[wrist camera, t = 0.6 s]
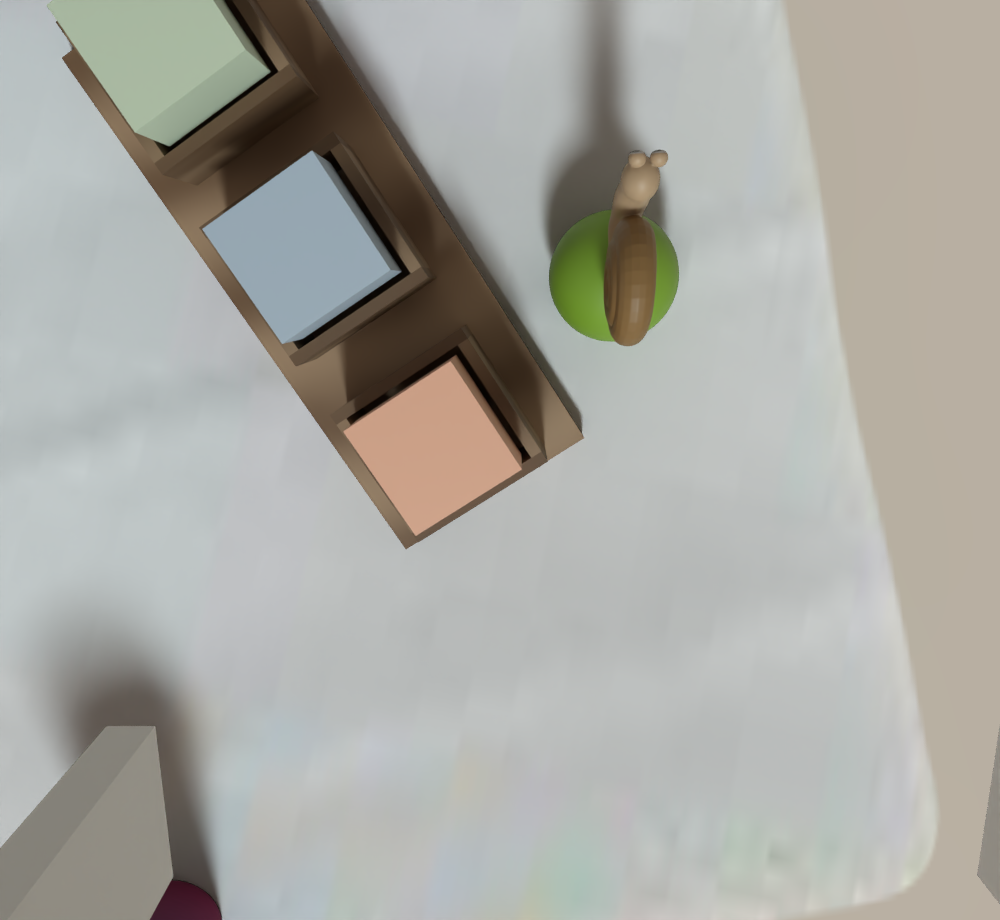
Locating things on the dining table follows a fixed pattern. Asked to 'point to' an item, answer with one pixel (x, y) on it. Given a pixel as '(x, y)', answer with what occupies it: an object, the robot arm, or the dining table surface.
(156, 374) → the dining table surface
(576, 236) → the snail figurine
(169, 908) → the cup
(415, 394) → the terracotta key
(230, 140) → the wooden socket tray
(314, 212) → the slate key
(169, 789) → the dining table surface
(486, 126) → the dining table surface
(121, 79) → the sage key
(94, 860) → the robot arm
